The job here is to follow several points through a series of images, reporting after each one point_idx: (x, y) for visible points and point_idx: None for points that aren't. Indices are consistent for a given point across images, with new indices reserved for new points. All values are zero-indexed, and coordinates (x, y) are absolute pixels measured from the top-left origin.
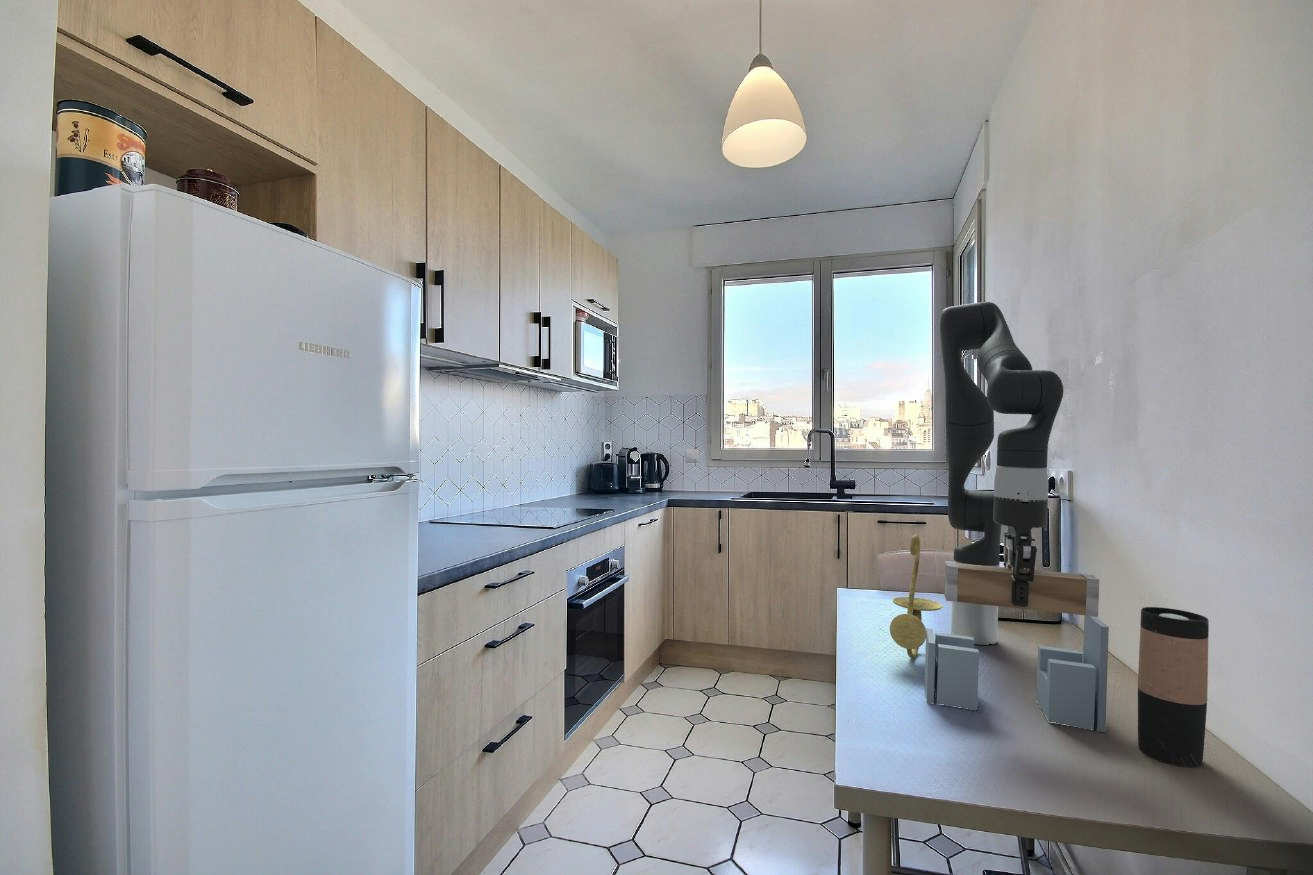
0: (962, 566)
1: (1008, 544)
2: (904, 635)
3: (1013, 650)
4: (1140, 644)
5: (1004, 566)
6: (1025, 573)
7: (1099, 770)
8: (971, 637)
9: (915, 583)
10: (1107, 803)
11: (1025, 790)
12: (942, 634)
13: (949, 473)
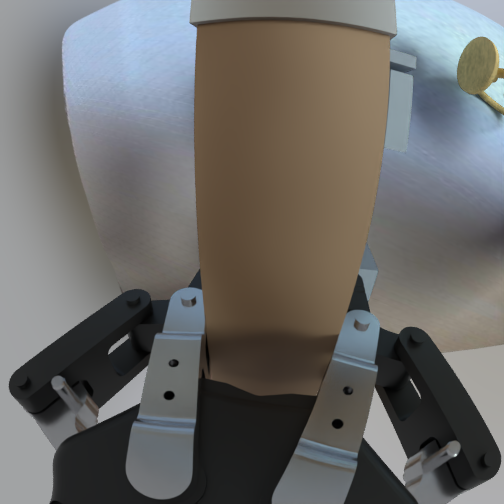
0: (271, 53)
1: (132, 437)
2: (470, 59)
3: None
4: (211, 377)
5: (419, 330)
6: (131, 340)
7: (168, 229)
8: (402, 148)
9: None
10: (111, 214)
11: (99, 152)
12: (402, 86)
13: None
